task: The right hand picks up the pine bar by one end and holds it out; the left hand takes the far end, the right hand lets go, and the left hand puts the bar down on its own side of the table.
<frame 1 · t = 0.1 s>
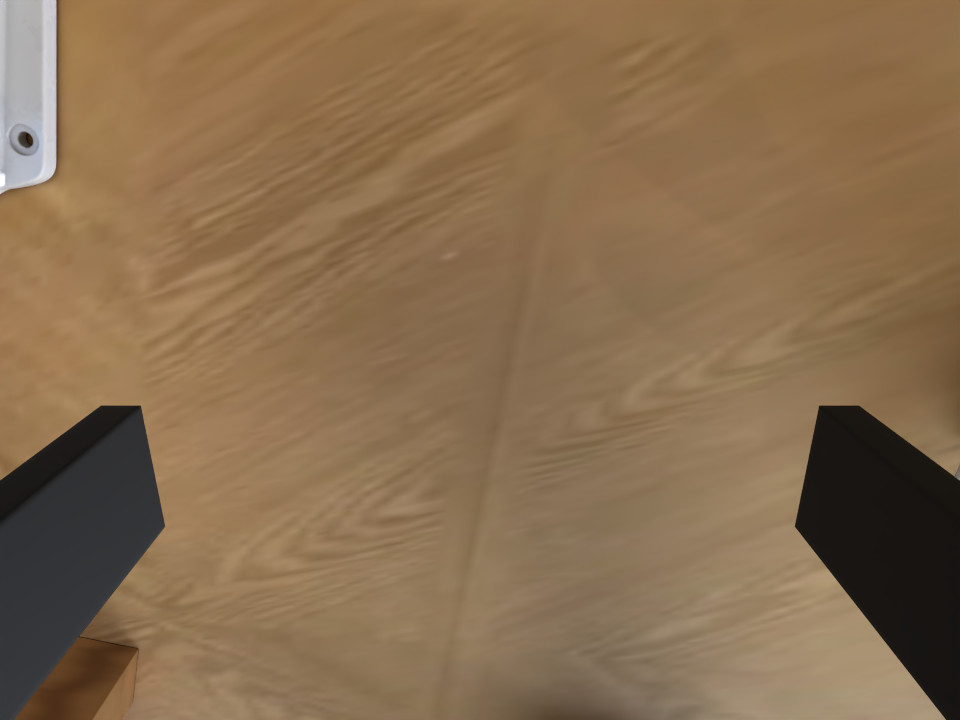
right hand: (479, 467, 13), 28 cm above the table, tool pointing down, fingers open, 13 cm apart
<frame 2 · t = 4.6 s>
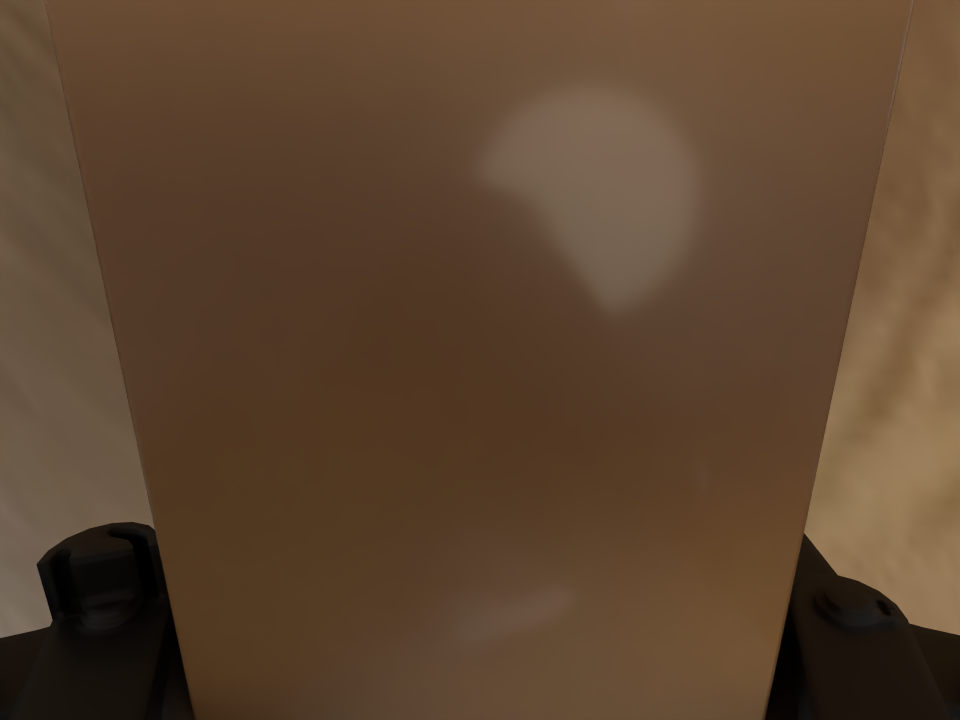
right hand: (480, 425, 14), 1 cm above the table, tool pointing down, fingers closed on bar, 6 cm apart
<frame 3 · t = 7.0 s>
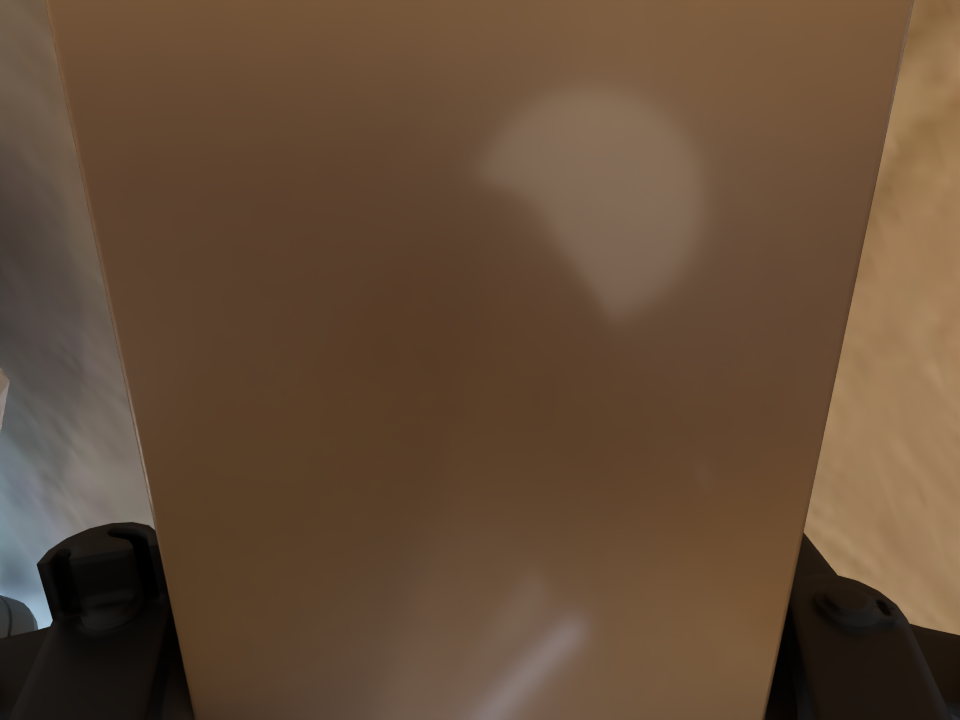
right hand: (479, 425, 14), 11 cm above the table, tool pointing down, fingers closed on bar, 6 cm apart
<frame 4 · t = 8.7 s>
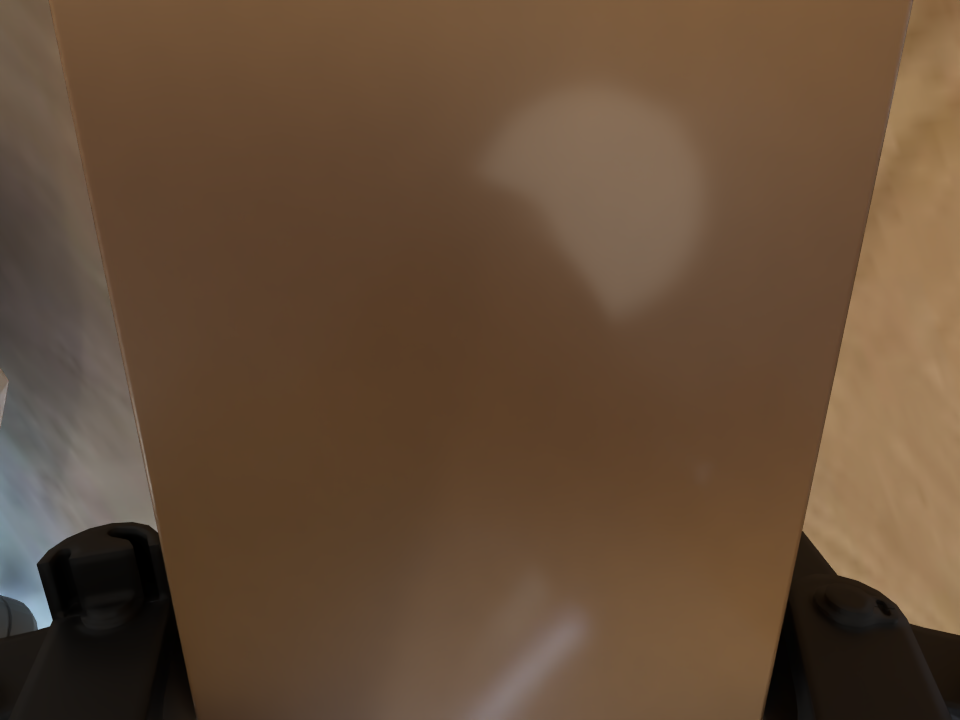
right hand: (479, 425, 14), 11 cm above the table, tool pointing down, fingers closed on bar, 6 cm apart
when the right hand's fingers open (11 cm above the table, at t = 9.8 s): bar stays where it is, held by the left hand.
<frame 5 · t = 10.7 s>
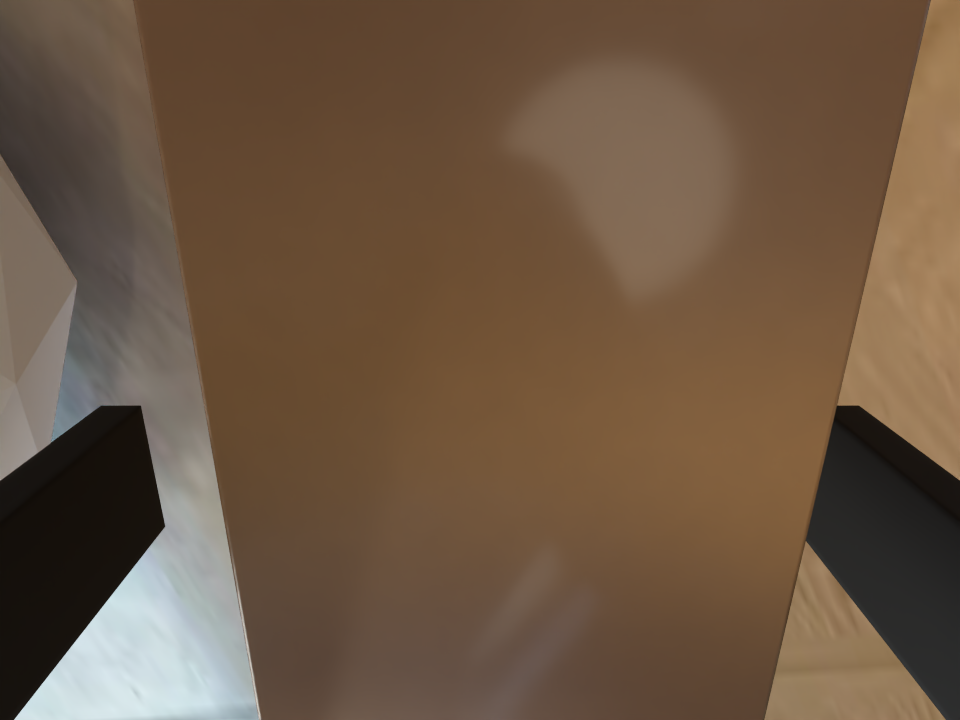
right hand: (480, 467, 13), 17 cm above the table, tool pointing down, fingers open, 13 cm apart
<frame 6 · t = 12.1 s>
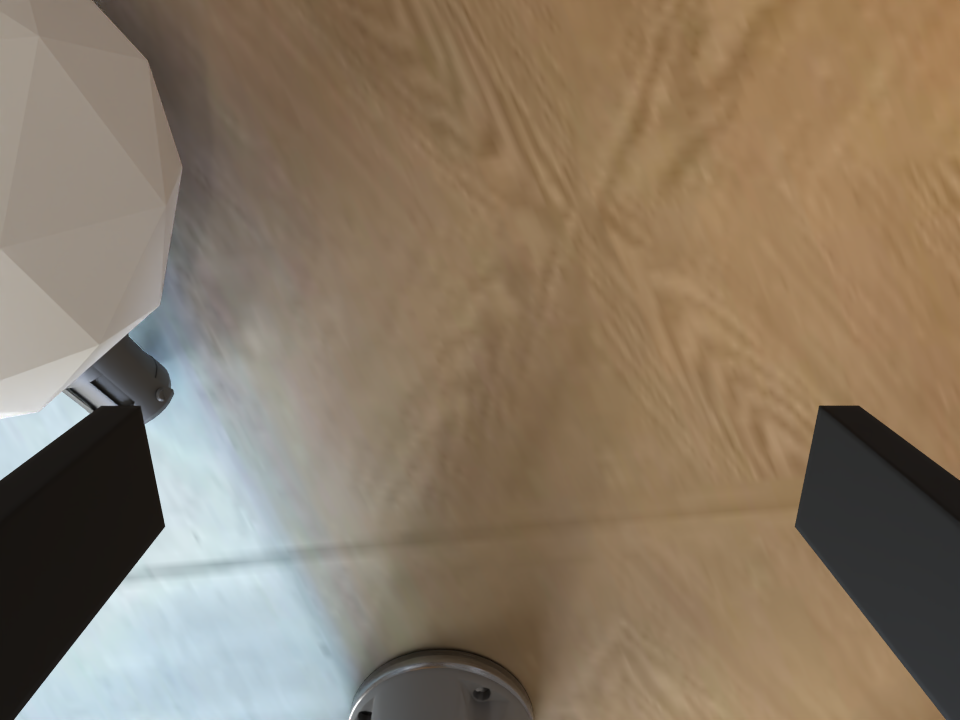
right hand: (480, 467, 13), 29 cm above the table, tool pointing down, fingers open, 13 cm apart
sphere: (68, 193, 39), on the table
when the left hand's fingers open (5 cm above the table, at t = 15.7 s): bar drops 1 cm, on the table.
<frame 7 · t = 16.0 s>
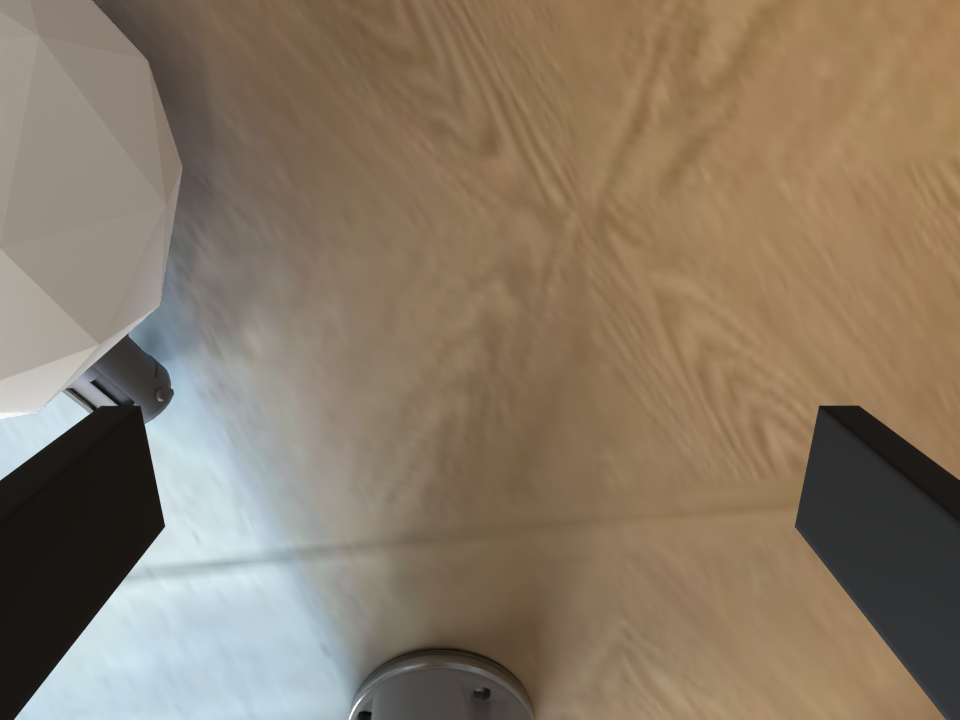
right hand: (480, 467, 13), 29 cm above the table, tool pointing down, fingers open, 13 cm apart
sphere: (68, 193, 39), on the table
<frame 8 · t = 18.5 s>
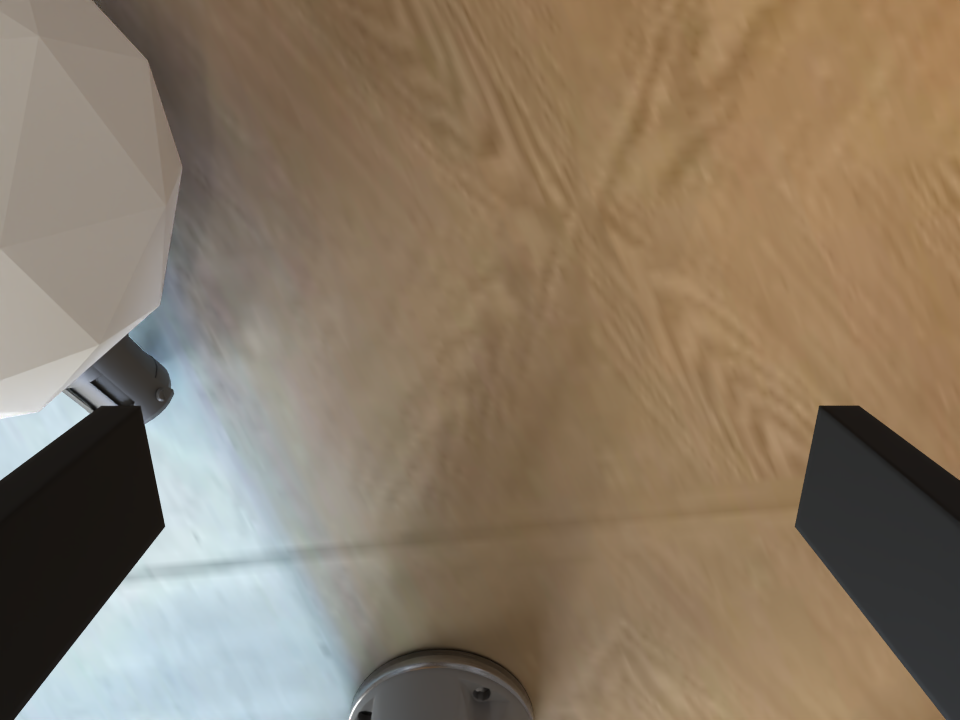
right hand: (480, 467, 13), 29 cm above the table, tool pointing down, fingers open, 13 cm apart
sphere: (68, 193, 39), on the table
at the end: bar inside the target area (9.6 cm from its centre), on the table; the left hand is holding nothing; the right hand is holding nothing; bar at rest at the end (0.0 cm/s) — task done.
